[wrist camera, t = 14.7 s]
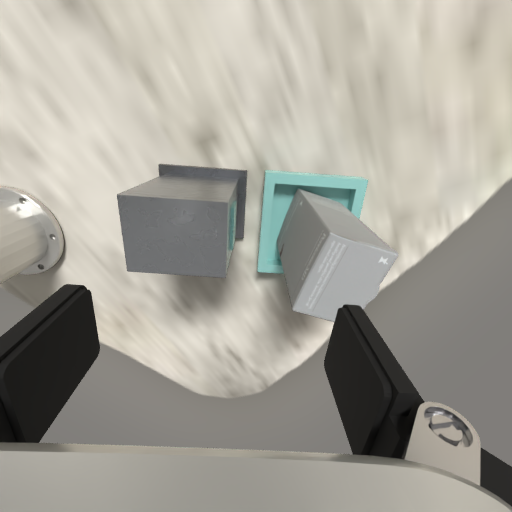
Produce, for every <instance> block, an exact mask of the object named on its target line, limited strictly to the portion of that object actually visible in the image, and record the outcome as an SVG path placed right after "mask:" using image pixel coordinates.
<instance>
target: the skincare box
mask: <svg viewBox="0 0 512 512" xmlns="http://www.w3.org/2000/svg"><path fill="white" fill-rule="evenodd" d="M277 246H278V250H279V254H280V258H281V263H282V267H283V271H284V275H285V280H286V284H287V288H288V292H289V297H290V301H291V305H292V310H293V311H296V312H299V313H303V314H307V315H311V316H314V317H318V318H321V319H325V320H329V321H332V322H335V318H336V315H337V311H338V309H339V308H342V307H343V305H345V304H349V305H359V306H361V307H362V309H363V310H364V308H365V307H366V305H367V303H368V302H370V301H371V300H373V299H374V298H375V297H376V295H377V294H378V291H379V285H380V284H381V282H382V281H383V279H384V277H385V276H386V274H387V273H388V271H389V270H390V268H391V266H392V265H393V263H394V262H395V260H396V258H397V257H398V252H397V251H395V250H394V249H392V248H391V247H390V246H389V245H387V244H386V243H385V242H384V241H383V240H382V239H381V238H379V237H378V236H377V235H376V234H375V233H374V232H373V231H372V230H370V229H369V228H368V227H367V226H366V225H365V224H364V223H363V222H362V221H360V220H359V219H358V218H357V217H356V216H355V215H354V214H353V213H351V212H350V211H349V210H348V209H347V208H346V207H345V206H344V205H343V204H341V203H340V202H337V201H334V200H331V199H328V198H325V197H322V196H319V195H317V194H314V193H311V192H308V191H305V190H302V189H299V188H298V189H297V190H296V193H295V195H294V197H293V199H292V202H291V204H290V206H289V209H288V211H287V214H286V216H285V219H284V221H283V224H282V227H281V230H280V232H279V235H278V238H277Z"/></svg>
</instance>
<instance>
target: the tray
mask: <svg viewBox="0 0 512 512" xmlns="http://www.w3.org/2000/svg"><path fill="white" fill-rule="evenodd" d="M367 183H368V180H367V179H365V178H362V177H351V176H338V175H324V174H311V173H298V172H284V171H271V170H265V179H264V192H263V204H262V216H261V228H260V241H259V253H258V272H267V273H282V274H284V271H283V267H282V263H281V258H280V254H279V250H278V246H277V238H278V235H279V232H280V230H281V227H282V224H283V221H284V219H285V216H286V214H287V211H288V209H289V206H290V204H291V202H292V199H293V197H294V195H295V193H296V190H297V189H298V188H299V189H302V190H305V191H308V192H311V193H314V194H317V195H319V196H322V197H325V198H328V199H331V200H334V201H337V202H340V203H341V204H343V205H344V206H345V207H346V208H347V209H348V210H349V211H350V212H351V213H353V214H354V215H355V216H356V217H357V218H358V219H359V218H360V213H361V209H362V205H363V200H364V196H365V192H366V188H367Z"/></svg>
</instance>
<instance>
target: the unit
mask: <svg viewBox="0 0 512 512" xmlns="http://www.w3.org/2000/svg"><path fill="white" fill-rule="evenodd" d="M159 176H160V177H157V178H155V179H153V180H150V181H148V182H145V183H143V184H141V185H138V186H136V187H134V188H131V189H129V190H127V191H124V192H122V193H120V194H117V199H118V207H119V214H120V221H121V229H122V236H123V243H124V251H125V258H126V265H127V271H129V272H144V273H159V274H175V275H190V276H205V277H221V278H226V275H227V270H228V266H229V261H230V257H231V252H232V250H233V247H234V242H235V238H243V236H244V217H245V199H246V181H247V170H236V169H222V168H209V167H195V166H182V165H169V164H159Z"/></svg>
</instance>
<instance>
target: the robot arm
mask: <svg viewBox="0 0 512 512" xmlns="http://www.w3.org/2000/svg"><path fill="white" fill-rule="evenodd" d="M63 249H64V240H63V234H62V231H61V228H60V226H59V224H58V222H57V220H56V219H55V217H54V216H53V214H52V213H51V212H50V211H49V209H48V208H47V207H45V206H44V205H43V204H42V203H41V202H40V201H39V200H37V199H36V198H34V197H33V196H31V195H29V194H27V193H25V192H23V191H21V190H18V189H15V188H11V187H5V186H0V284H1V283H2V282H4V281H6V280H8V279H9V278H11V277H13V276H14V275H16V274H23V275H33V274H38V273H42V272H44V271H46V270H48V269H49V268H51V267H53V266H54V265H55V264H56V263H57V262H58V261H59V259H60V257H61V256H62V252H63ZM99 351H100V345H99V339H98V332H97V326H96V320H95V314H94V308H93V301H92V295H91V292H90V290H87V289H86V287H85V286H83V285H71V284H66V285H64V286H63V287H61V288H60V289H59V290H58V291H57V292H55V293H54V294H53V295H52V296H50V297H49V298H48V299H47V300H45V301H44V302H43V303H42V304H40V305H39V306H38V307H37V308H36V309H34V310H33V311H32V312H31V313H29V314H28V315H27V316H26V317H24V318H23V319H22V320H21V321H20V322H18V323H17V324H16V325H15V326H14V327H12V328H11V329H10V330H9V331H7V332H6V333H5V334H3V335H2V336H1V337H0V512H512V467H511V466H509V465H507V464H506V463H505V462H503V461H501V460H500V459H498V458H497V457H495V456H493V455H492V454H490V453H489V452H487V451H486V450H484V449H482V448H481V444H480V440H479V436H478V434H477V433H476V431H475V429H474V428H473V427H472V425H471V424H470V423H469V422H468V421H467V420H466V419H465V418H464V417H463V416H462V415H460V414H459V413H458V412H456V411H454V410H453V409H451V408H450V407H447V406H445V405H443V404H440V403H435V402H424V401H423V399H422V398H421V396H420V395H419V393H418V391H417V390H416V388H415V387H414V386H413V384H412V382H411V381H410V380H409V378H408V376H407V375H406V373H405V372H404V371H403V370H402V367H401V366H400V364H399V363H398V362H397V360H396V358H395V357H394V356H393V354H392V352H391V351H390V350H389V348H388V346H387V345H386V343H385V342H384V340H383V339H382V338H381V336H380V334H379V333H378V331H377V330H376V328H375V327H374V326H373V324H372V322H371V321H370V320H369V318H368V316H367V315H366V314H365V312H364V310H363V309H362V307H361V306H359V305H349V304H345V305H343V307H342V308H339V309H338V311H337V315H336V318H335V322H334V326H333V330H332V333H331V337H330V341H329V345H328V349H327V353H326V356H325V360H324V366H325V371H326V374H327V377H328V380H329V383H330V386H331V389H332V392H333V395H334V398H335V402H336V405H337V408H338V411H339V414H340V417H341V420H342V422H343V426H344V429H345V431H346V435H347V438H348V440H349V444H350V446H351V450H352V452H353V455H350V454H333V453H315V452H290V451H266V450H265V451H264V450H241V449H214V448H213V449H212V448H186V447H156V446H155V447H154V446H126V445H92V444H58V443H57V444H56V443H55V444H54V443H39V442H40V440H41V438H42V437H43V436H44V434H45V433H46V431H47V430H48V428H49V427H50V425H51V424H52V423H53V421H54V420H55V418H56V417H57V415H58V413H59V412H60V411H61V409H62V408H63V406H64V405H65V403H66V402H67V400H68V399H69V398H70V396H71V395H72V393H73V392H74V390H75V389H76V387H77V386H78V384H79V383H80V382H81V380H82V379H83V377H84V376H85V374H86V373H87V371H88V370H89V368H90V367H91V365H92V364H93V362H94V361H95V360H96V358H97V356H98V354H99Z"/></svg>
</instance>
